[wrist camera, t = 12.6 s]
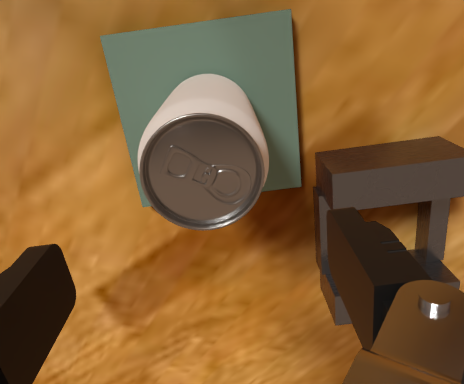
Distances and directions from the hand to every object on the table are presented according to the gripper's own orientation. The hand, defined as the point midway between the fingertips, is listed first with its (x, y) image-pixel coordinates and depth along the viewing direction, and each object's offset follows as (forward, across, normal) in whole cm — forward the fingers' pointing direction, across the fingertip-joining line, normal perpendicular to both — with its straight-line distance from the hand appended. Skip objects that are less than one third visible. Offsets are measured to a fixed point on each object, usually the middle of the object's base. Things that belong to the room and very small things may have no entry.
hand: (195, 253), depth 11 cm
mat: (+19, 0, 0) cm, 19 cm away
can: (+18, 0, 0) cm, 18 cm away
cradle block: (+19, -13, +11) cm, 26 cm away
